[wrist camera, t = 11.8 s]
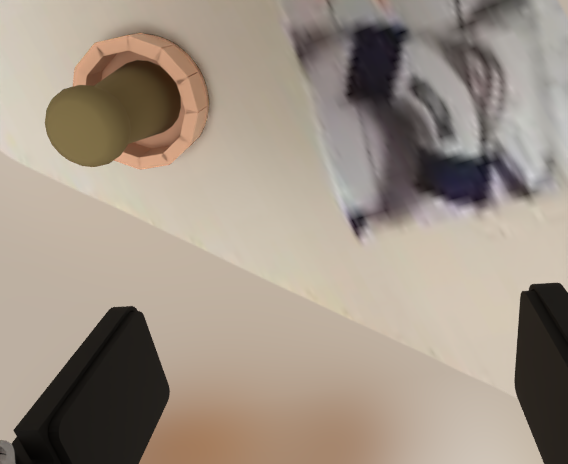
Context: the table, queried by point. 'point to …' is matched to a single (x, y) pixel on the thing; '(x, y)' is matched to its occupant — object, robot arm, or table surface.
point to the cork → (112, 113)
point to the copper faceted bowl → (184, 73)
